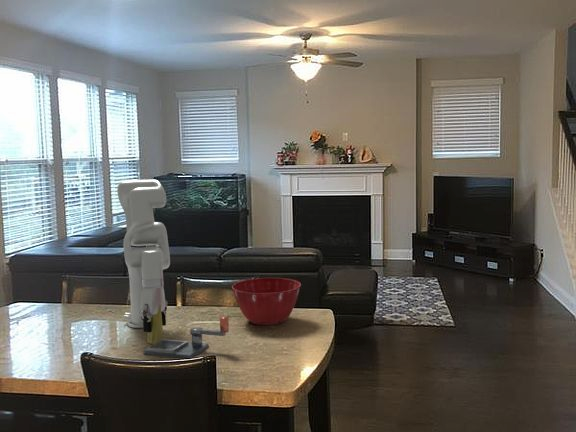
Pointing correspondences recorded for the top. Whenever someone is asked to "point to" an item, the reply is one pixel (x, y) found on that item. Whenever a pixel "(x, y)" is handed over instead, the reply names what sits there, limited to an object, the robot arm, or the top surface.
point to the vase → (155, 328)
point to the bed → (177, 348)
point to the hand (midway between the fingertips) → (155, 328)
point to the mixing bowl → (266, 299)
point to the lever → (222, 332)
